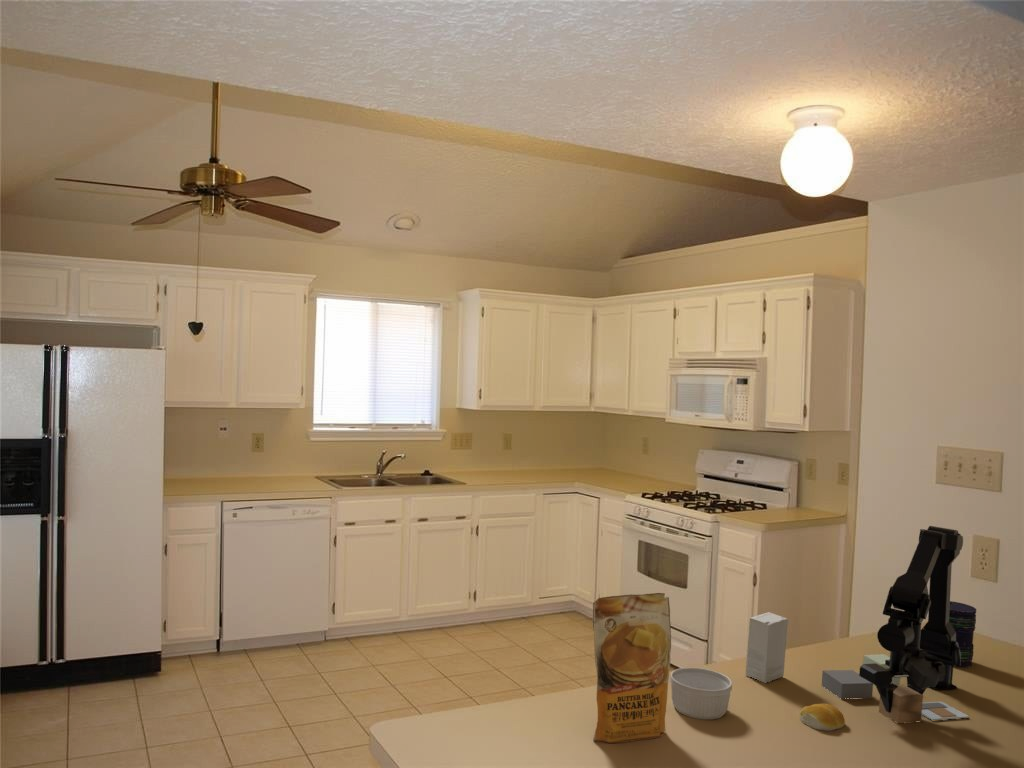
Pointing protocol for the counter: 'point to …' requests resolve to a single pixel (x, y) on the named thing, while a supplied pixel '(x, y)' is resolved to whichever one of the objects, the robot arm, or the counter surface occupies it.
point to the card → (941, 711)
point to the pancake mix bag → (631, 666)
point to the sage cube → (879, 663)
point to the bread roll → (822, 717)
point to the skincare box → (766, 647)
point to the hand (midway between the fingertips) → (900, 711)
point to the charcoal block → (846, 684)
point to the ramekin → (700, 692)
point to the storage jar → (963, 630)
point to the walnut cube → (904, 705)
